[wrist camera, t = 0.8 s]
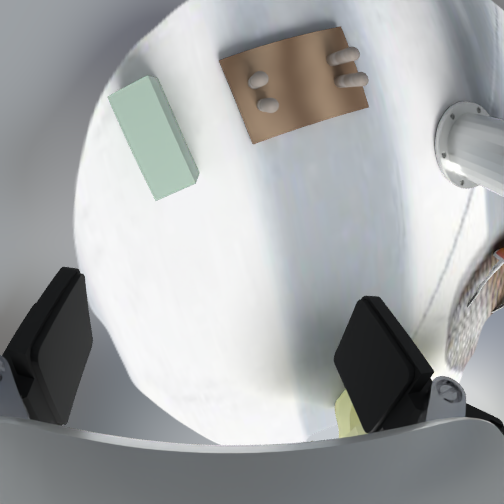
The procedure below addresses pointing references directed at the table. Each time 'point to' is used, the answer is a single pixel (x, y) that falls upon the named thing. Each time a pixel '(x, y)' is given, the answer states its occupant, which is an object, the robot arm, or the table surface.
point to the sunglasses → (500, 254)
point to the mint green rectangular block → (154, 137)
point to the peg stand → (295, 82)
